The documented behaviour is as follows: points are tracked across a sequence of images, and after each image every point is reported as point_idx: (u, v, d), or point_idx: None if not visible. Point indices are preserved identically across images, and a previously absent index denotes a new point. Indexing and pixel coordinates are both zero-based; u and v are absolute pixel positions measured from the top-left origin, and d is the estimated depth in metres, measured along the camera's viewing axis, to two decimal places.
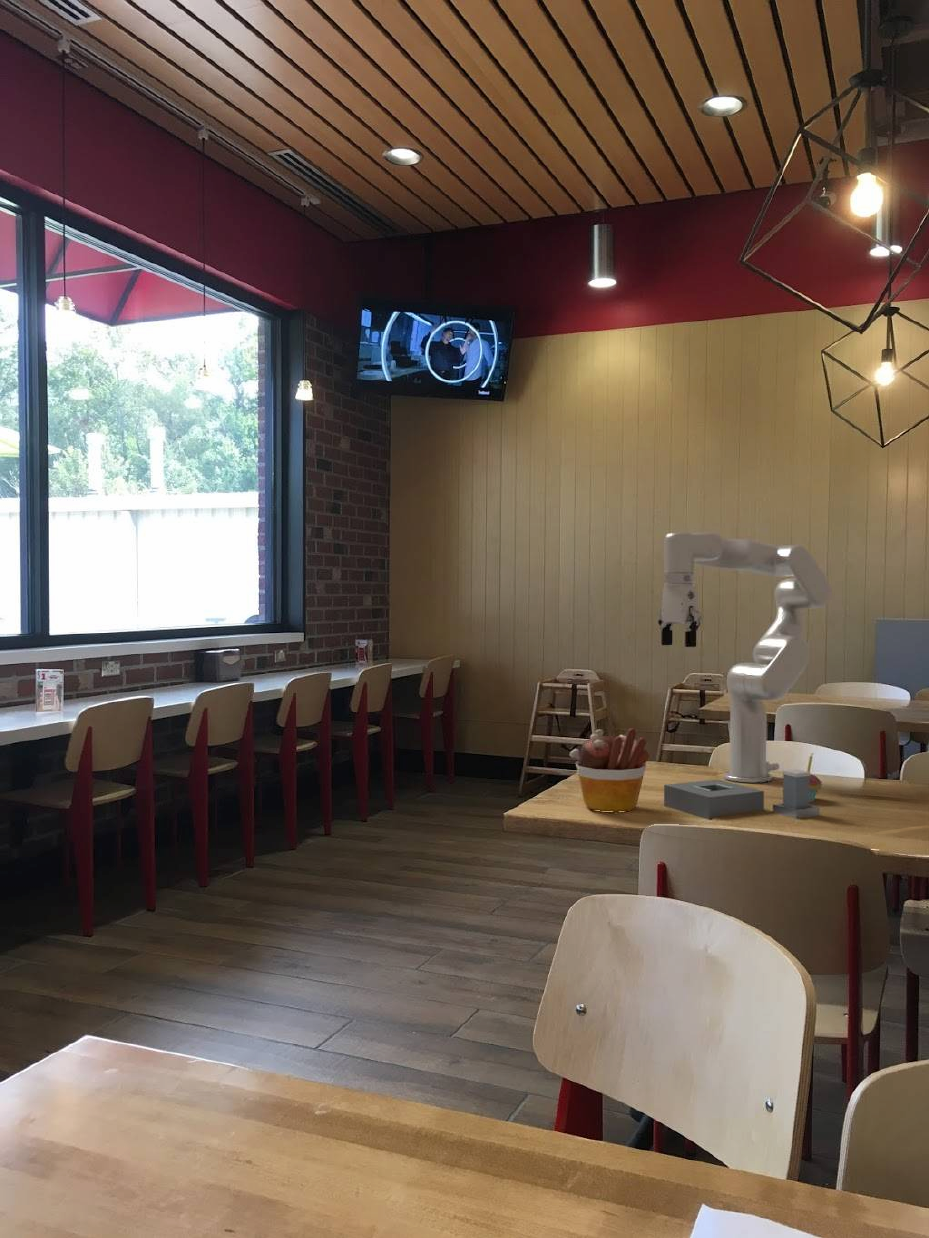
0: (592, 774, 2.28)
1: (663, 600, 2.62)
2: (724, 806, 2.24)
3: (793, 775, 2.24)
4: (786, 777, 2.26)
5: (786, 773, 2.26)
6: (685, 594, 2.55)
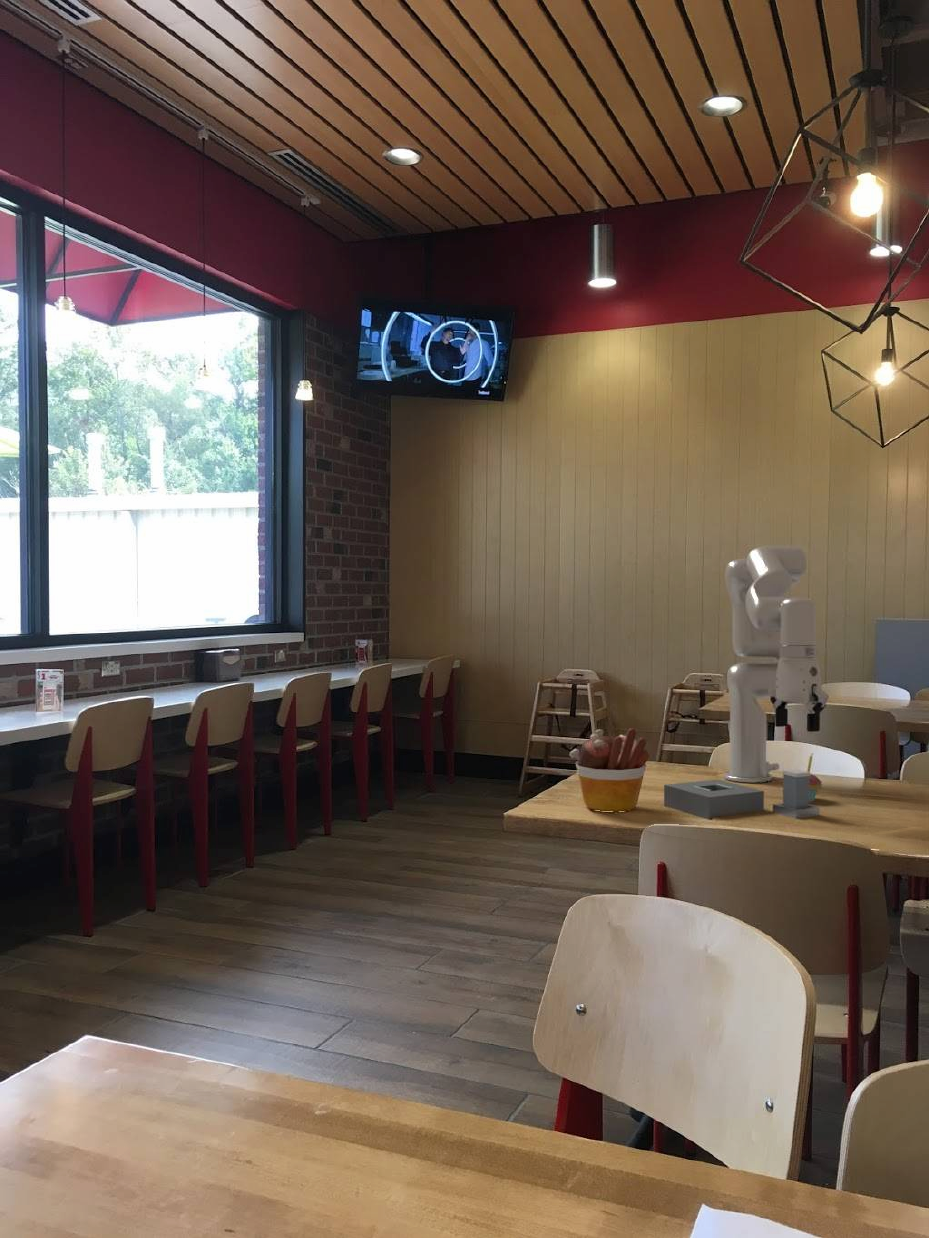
0: (592, 774, 2.28)
1: (778, 675, 2.27)
2: (724, 806, 2.24)
3: (793, 775, 2.24)
4: (786, 777, 2.26)
5: (786, 773, 2.26)
6: (807, 670, 2.20)
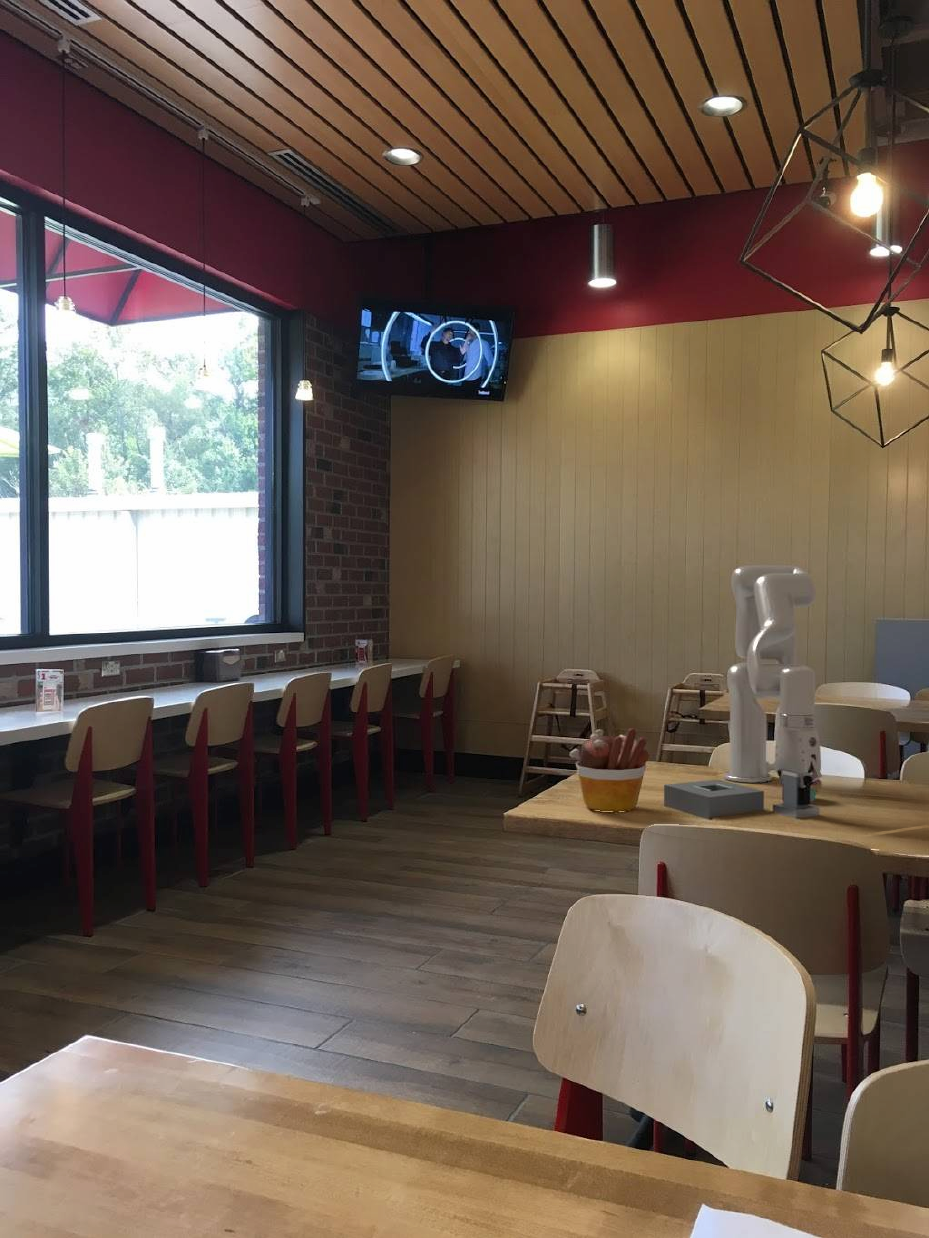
0: (592, 774, 2.28)
1: (777, 743, 2.28)
2: (724, 806, 2.24)
3: (793, 775, 2.24)
4: (786, 777, 2.26)
5: (786, 773, 2.26)
6: (806, 741, 2.21)
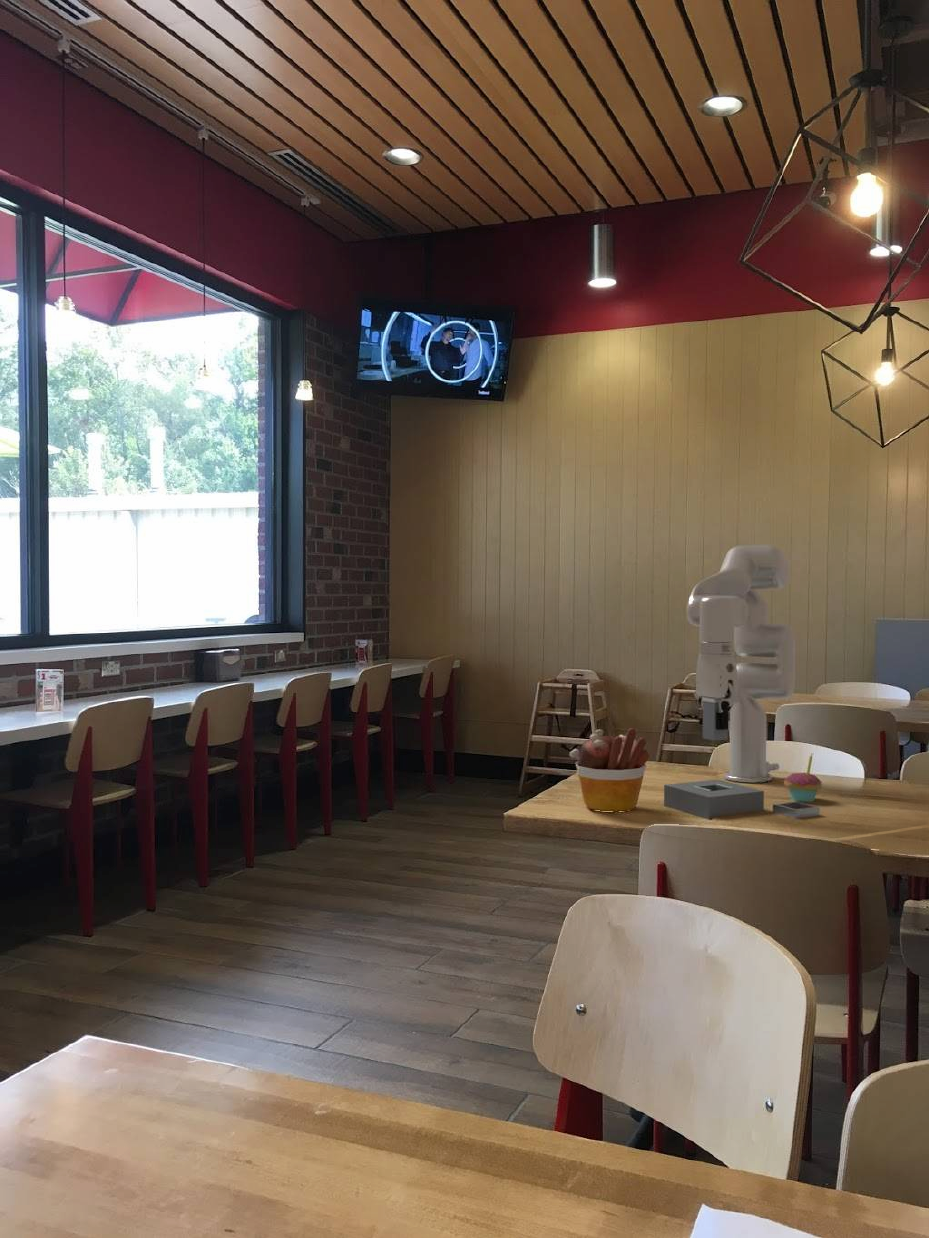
0: (592, 774, 2.28)
1: (698, 671, 2.34)
2: (724, 806, 2.24)
3: (711, 701, 2.30)
4: (705, 703, 2.33)
5: (705, 699, 2.32)
6: (724, 667, 2.28)
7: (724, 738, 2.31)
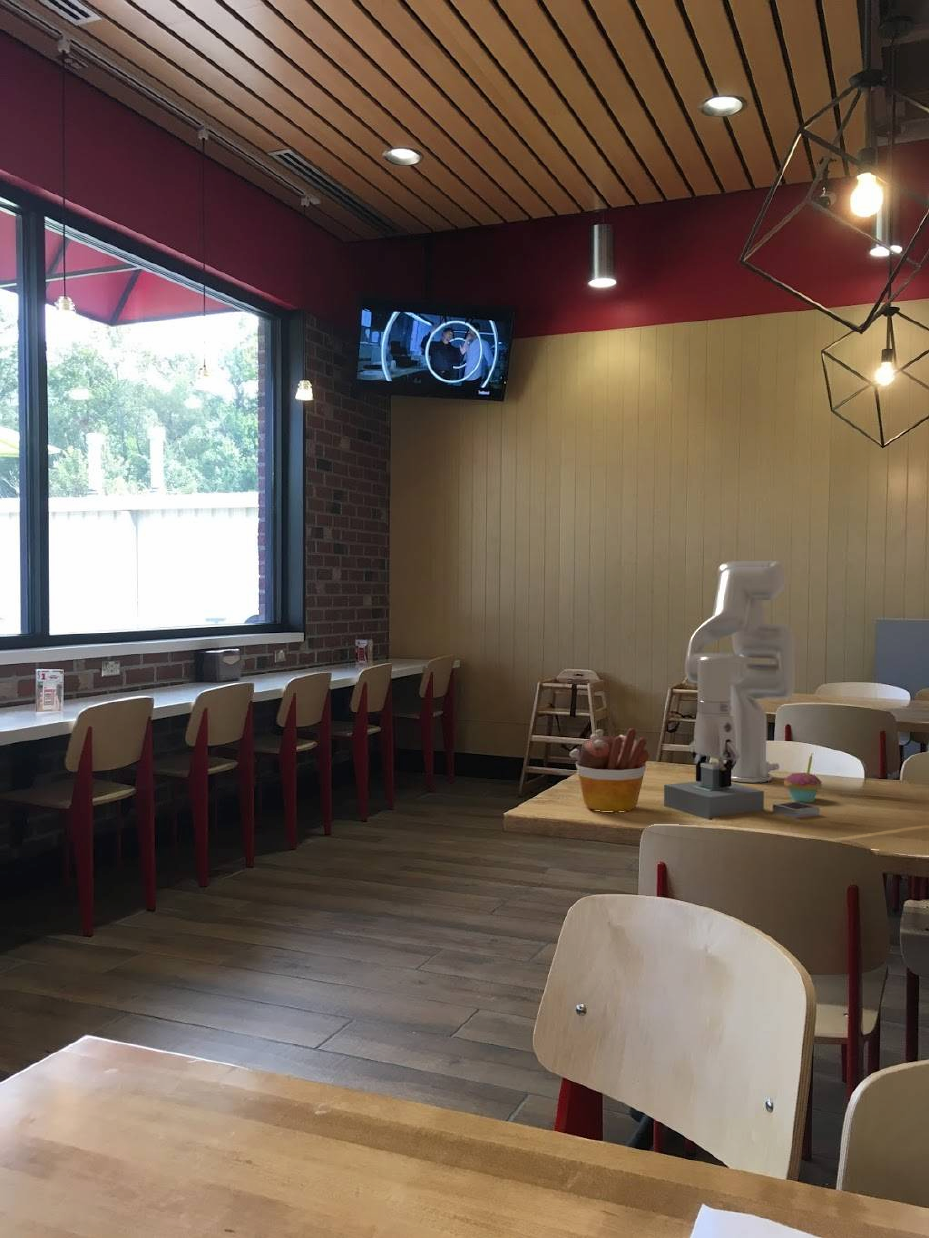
0: (592, 774, 2.28)
1: (696, 729, 2.35)
2: (724, 806, 2.24)
3: (710, 767, 2.31)
4: (703, 770, 2.33)
5: (704, 766, 2.33)
6: (721, 726, 2.28)
7: None
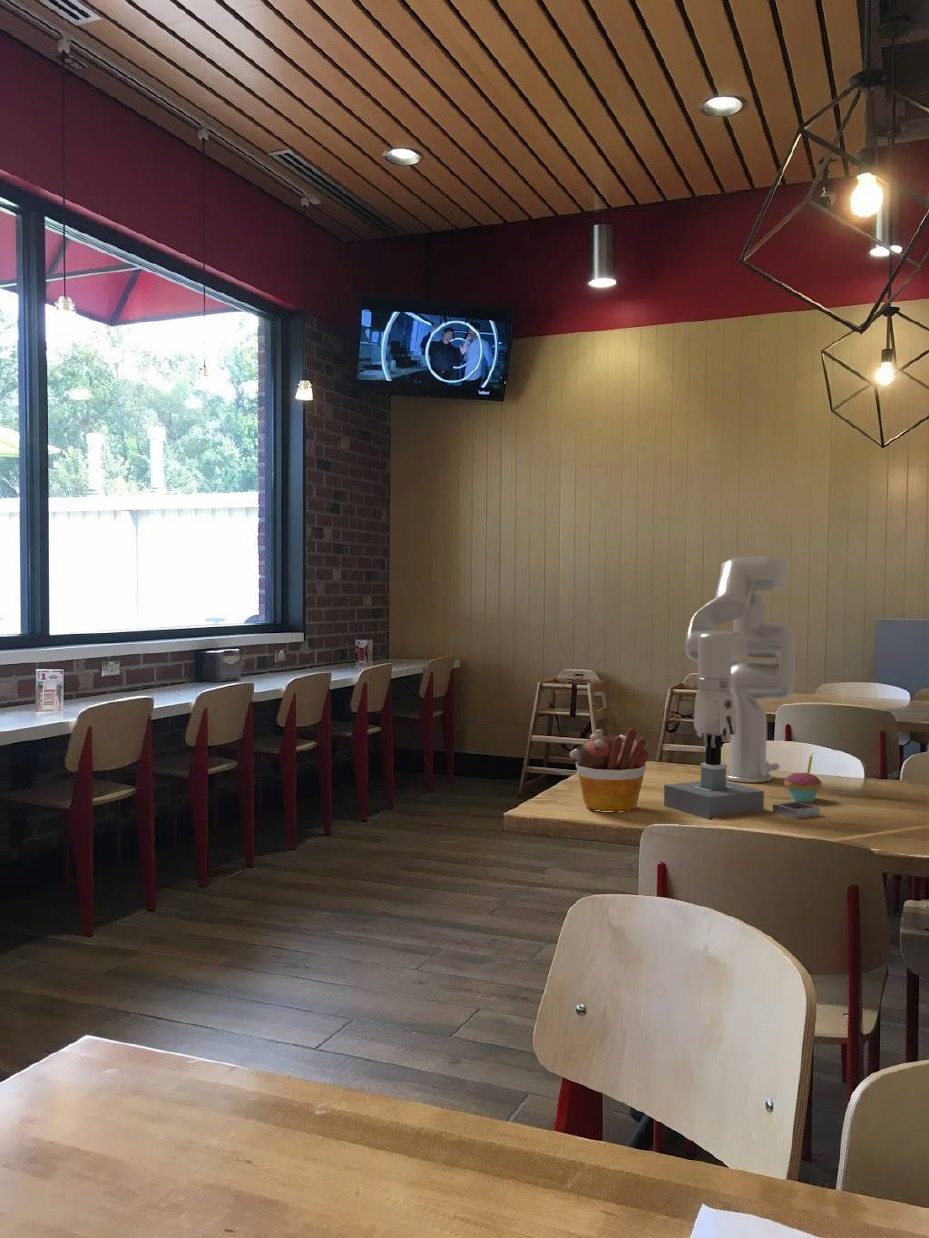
0: (592, 774, 2.28)
1: (696, 707, 2.35)
2: (724, 806, 2.24)
3: (710, 768, 2.31)
4: (703, 770, 2.33)
5: (703, 766, 2.33)
6: (722, 703, 2.28)
7: None
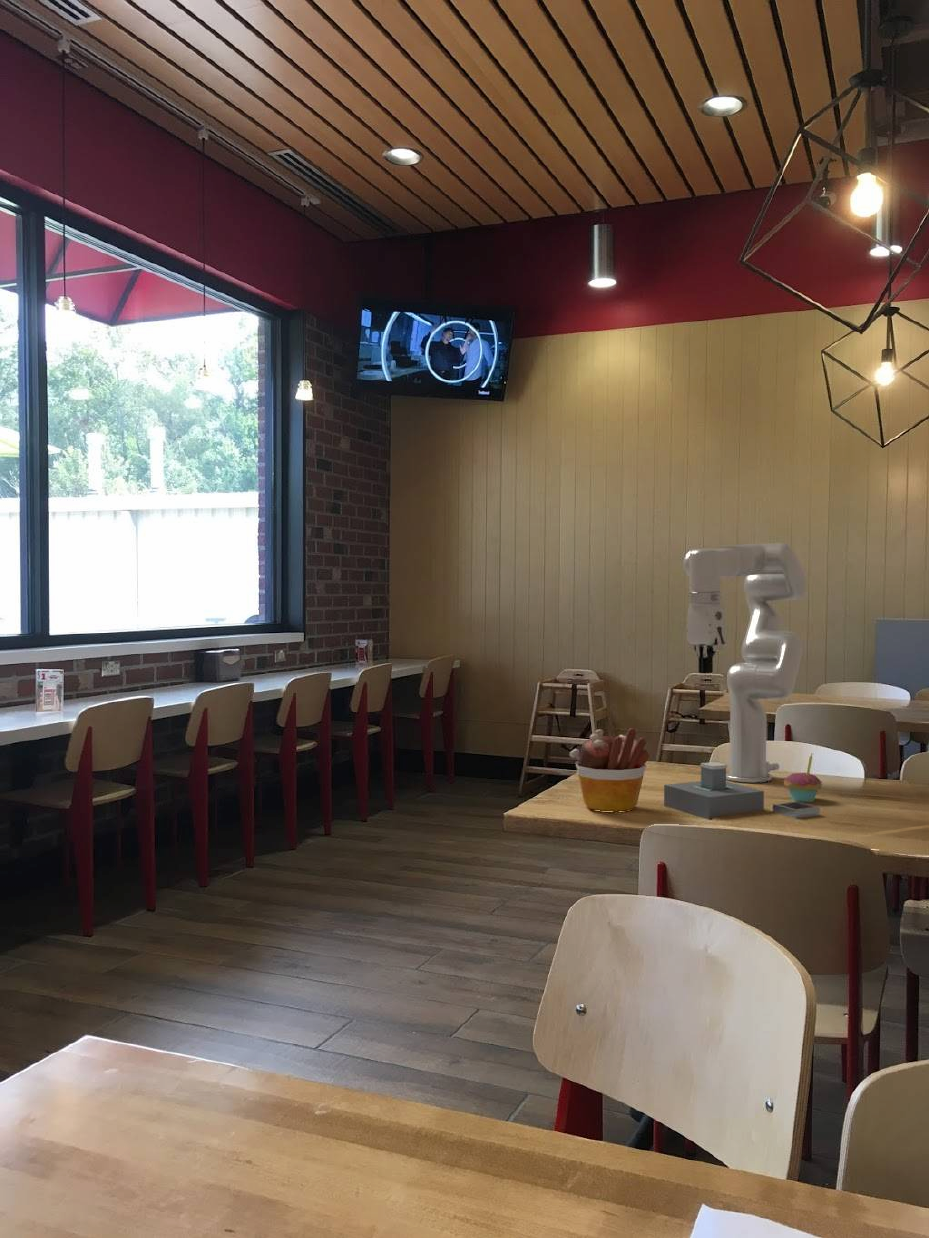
0: (592, 774, 2.28)
1: (688, 620, 2.50)
2: (724, 806, 2.24)
3: (710, 767, 2.31)
4: (703, 770, 2.33)
5: (703, 766, 2.33)
6: (713, 615, 2.43)
7: None
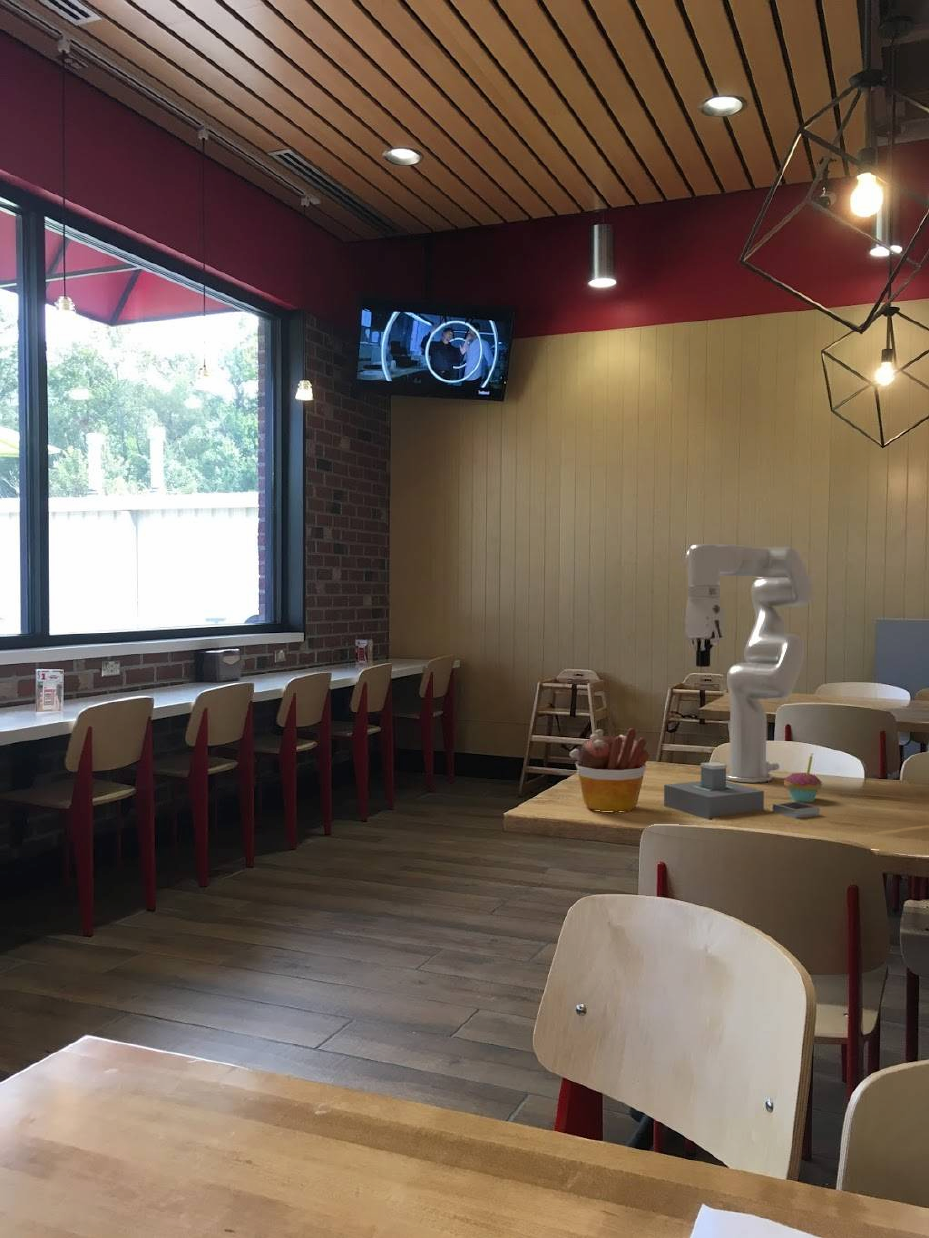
0: (592, 774, 2.28)
1: (687, 614, 2.53)
2: (724, 806, 2.24)
3: (710, 767, 2.31)
4: (703, 770, 2.33)
5: (703, 766, 2.33)
6: (710, 608, 2.46)
7: None
